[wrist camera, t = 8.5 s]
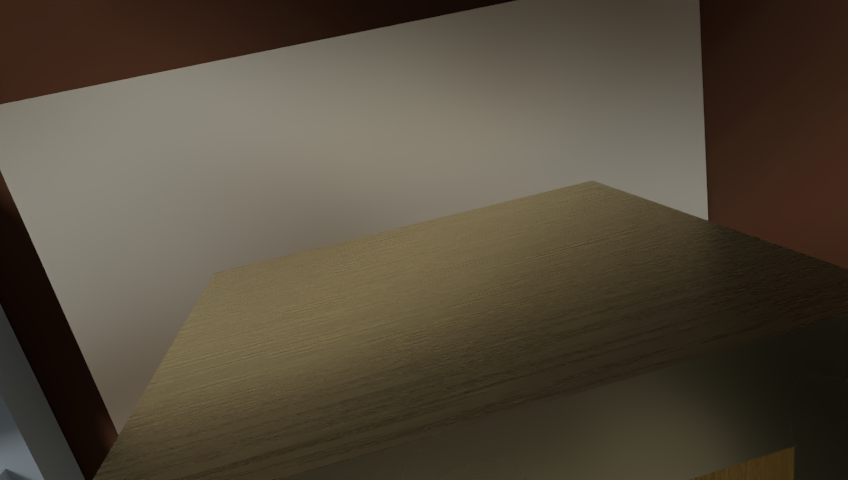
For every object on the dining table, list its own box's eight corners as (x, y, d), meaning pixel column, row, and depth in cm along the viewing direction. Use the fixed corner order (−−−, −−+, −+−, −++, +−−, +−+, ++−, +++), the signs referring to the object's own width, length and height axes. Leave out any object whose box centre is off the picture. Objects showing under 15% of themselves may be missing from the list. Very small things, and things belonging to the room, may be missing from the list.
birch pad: (692, 474, 14) (719, 502, 13) (228, 621, 13) (220, 664, 12) (664, -26, 10) (697, -36, 9) (10, 107, 9) (-28, 110, 8)
